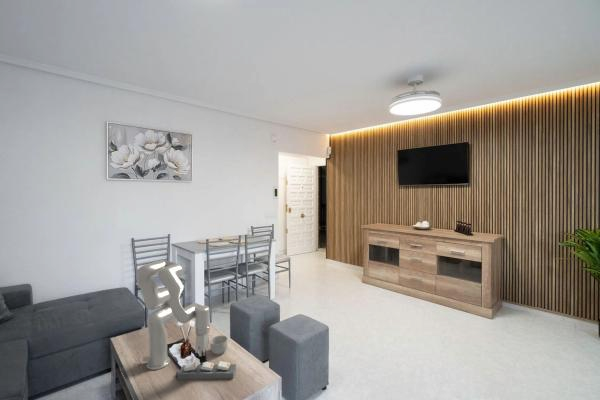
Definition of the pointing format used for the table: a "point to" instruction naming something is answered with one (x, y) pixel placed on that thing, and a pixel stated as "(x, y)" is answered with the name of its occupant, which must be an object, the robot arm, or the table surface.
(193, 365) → the rocker
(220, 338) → the teacup
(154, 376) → the table surface
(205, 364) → the rocker
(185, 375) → the grey rectangular tray
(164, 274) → the robot arm
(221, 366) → the rocker
